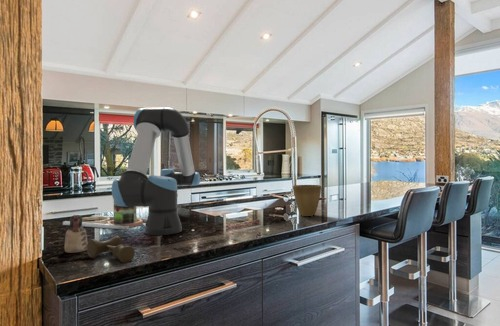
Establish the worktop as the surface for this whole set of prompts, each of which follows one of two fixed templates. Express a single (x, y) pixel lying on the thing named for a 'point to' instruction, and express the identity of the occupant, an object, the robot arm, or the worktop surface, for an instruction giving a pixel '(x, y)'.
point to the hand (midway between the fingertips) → (132, 203)
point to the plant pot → (307, 198)
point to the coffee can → (124, 214)
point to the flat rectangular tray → (102, 222)
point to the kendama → (111, 249)
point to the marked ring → (138, 222)
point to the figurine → (76, 236)
